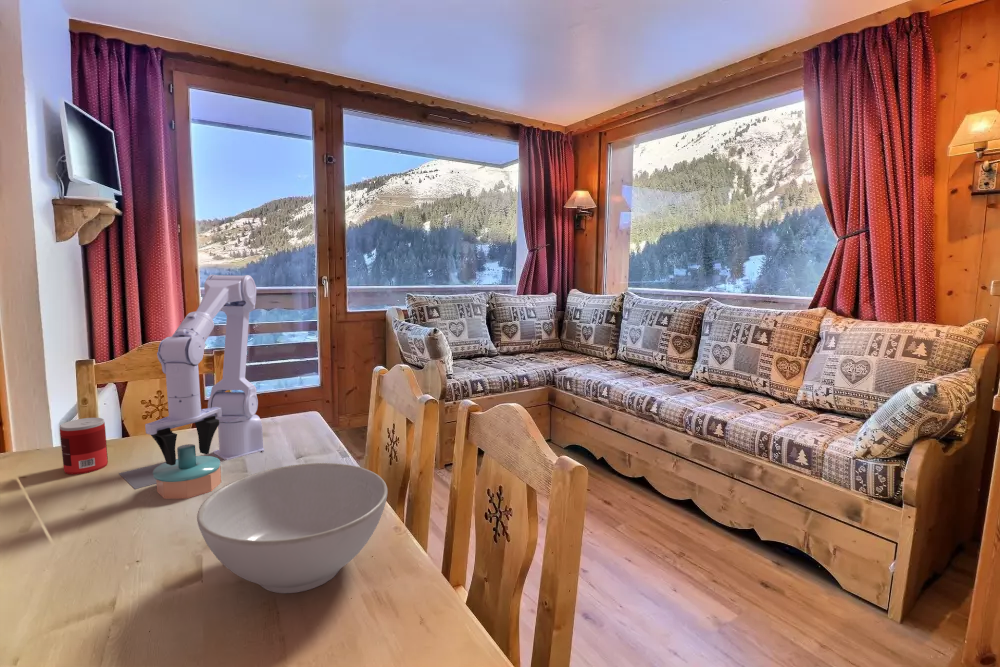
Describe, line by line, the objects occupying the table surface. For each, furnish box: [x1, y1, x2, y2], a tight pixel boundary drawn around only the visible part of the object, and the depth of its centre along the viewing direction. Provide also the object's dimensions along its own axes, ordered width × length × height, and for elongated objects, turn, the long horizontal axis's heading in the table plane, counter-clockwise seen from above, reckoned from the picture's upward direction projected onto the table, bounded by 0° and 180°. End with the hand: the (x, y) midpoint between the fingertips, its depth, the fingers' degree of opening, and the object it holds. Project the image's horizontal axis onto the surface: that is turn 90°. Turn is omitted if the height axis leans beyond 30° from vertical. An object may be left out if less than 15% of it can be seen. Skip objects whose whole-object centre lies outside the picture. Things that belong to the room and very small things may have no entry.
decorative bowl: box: [196, 462, 389, 594], centre depth 80 cm, size 27×27×12 cm
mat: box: [118, 461, 166, 490], centre depth 116 cm, size 12×12×1 cm
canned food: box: [59, 417, 109, 476], centre depth 117 cm, size 8×8×11 cm
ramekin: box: [156, 465, 222, 500], centre depth 109 cm, size 11×11×4 cm
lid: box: [153, 443, 221, 482], centre depth 108 cm, size 12×12×5 cm
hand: (188, 458), depth 108 cm, fingers open, 6 cm apart
